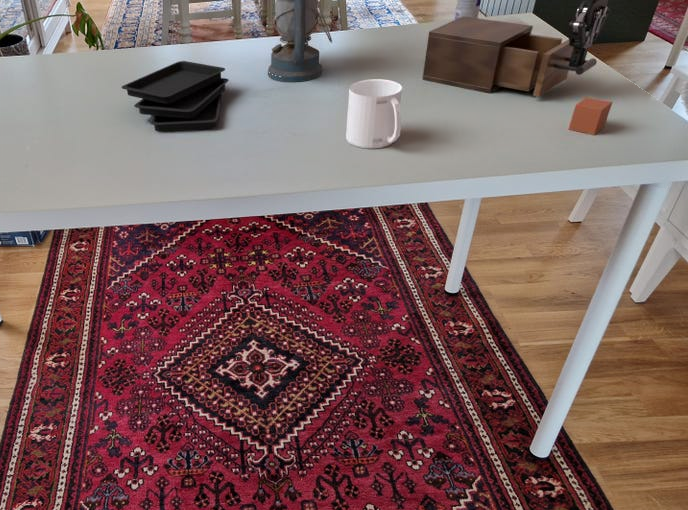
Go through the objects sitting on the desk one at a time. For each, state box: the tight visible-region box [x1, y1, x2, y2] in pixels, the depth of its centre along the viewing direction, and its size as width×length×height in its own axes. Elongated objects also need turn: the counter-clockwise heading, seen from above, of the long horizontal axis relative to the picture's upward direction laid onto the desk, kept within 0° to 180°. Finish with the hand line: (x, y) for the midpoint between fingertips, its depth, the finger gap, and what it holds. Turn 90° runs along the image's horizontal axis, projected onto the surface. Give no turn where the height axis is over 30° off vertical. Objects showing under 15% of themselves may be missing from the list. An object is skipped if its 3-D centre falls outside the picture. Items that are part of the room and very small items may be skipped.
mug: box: [345, 78, 403, 150], centre depth 115 cm, size 12×9×9 cm
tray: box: [121, 60, 230, 132], centre depth 137 cm, size 30×23×5 cm
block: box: [568, 97, 613, 136], centre depth 115 cm, size 4×4×4 cm
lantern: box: [267, 0, 333, 83], centre depth 141 cm, size 19×14×30 cm
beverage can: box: [453, 0, 482, 21], centre depth 160 cm, size 6×6×15 cm
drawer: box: [494, 33, 598, 98], centre depth 130 cm, size 20×13×8 cm, turn 44°
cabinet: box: [422, 16, 534, 94], centre depth 137 cm, size 16×14×10 cm
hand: (575, 67), depth 125 cm, fingers closed
